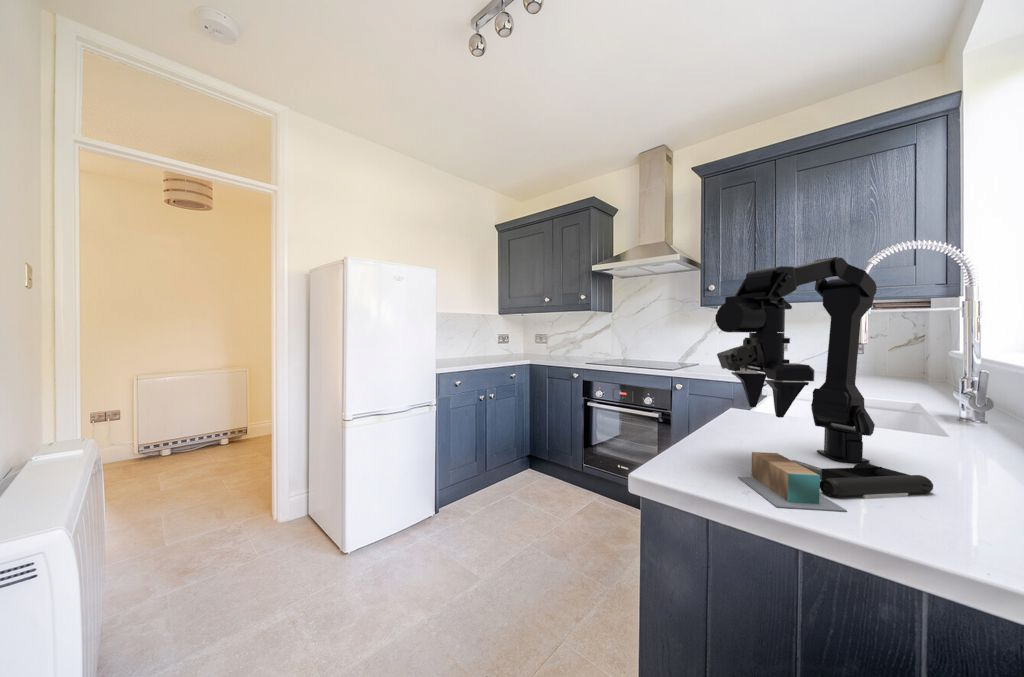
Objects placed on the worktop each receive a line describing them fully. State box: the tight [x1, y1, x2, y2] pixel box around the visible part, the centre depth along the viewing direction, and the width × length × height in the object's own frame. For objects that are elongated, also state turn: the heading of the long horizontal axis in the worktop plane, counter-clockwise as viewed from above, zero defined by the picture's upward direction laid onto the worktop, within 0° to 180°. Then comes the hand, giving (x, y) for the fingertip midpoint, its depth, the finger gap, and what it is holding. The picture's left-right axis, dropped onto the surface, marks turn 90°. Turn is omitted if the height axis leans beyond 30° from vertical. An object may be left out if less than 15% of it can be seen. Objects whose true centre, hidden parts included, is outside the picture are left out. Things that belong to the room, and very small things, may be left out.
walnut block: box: [750, 451, 821, 504], centre depth 64 cm, size 4×4×11 cm
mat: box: [737, 476, 848, 513], centre depth 63 cm, size 12×10×1 cm
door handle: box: [790, 459, 934, 499], centre depth 69 cm, size 3×20×16 cm
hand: (765, 411), depth 73 cm, fingers open, 9 cm apart
